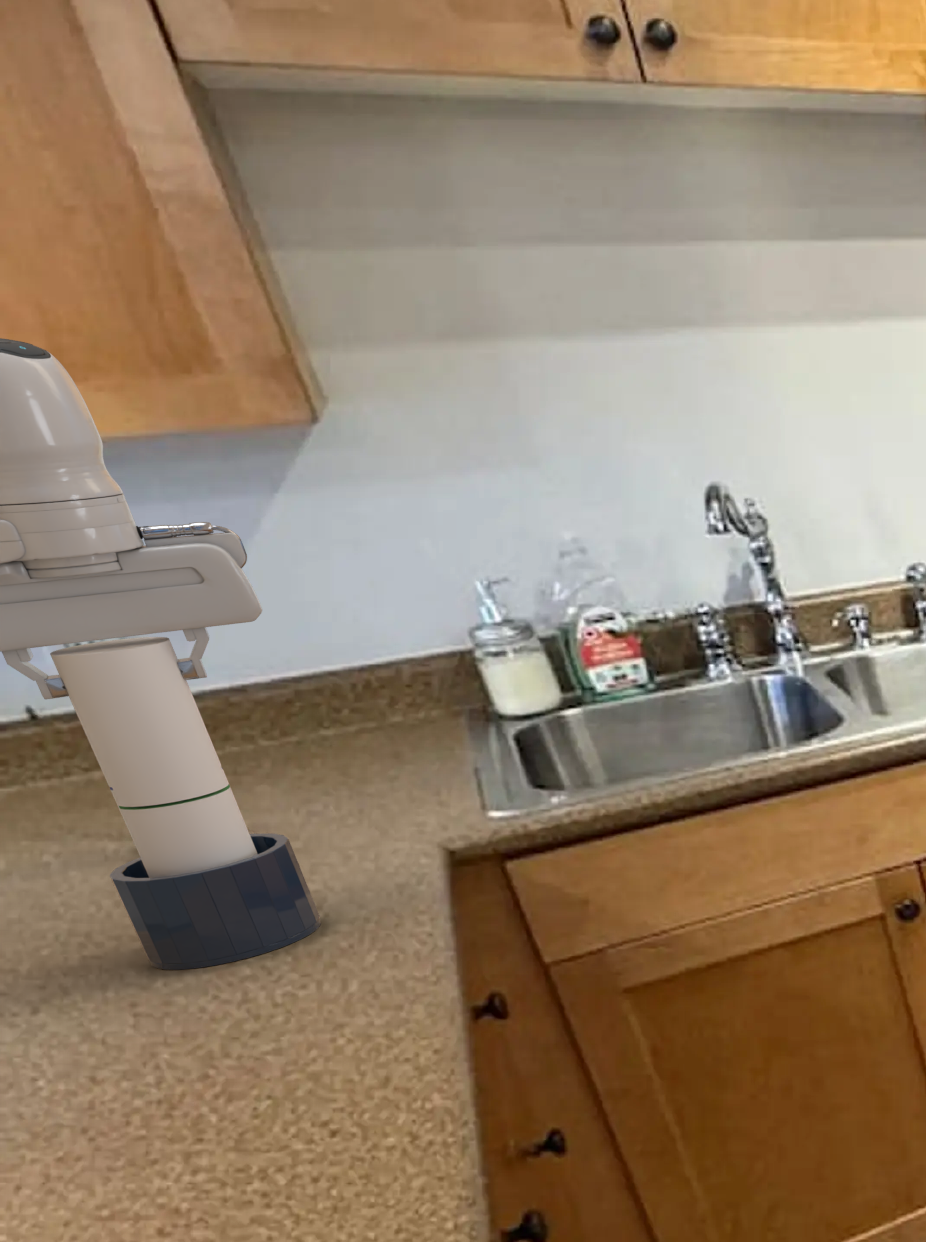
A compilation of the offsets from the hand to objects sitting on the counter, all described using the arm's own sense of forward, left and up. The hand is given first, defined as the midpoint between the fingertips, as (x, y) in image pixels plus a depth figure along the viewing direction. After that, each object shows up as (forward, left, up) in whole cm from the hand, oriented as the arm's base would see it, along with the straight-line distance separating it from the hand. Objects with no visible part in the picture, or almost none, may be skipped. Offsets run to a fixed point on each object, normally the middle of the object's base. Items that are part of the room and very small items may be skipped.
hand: (127, 687), depth 118 cm
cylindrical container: (0, 0, -21) cm, 21 cm away
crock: (0, 0, -26) cm, 26 cm away
